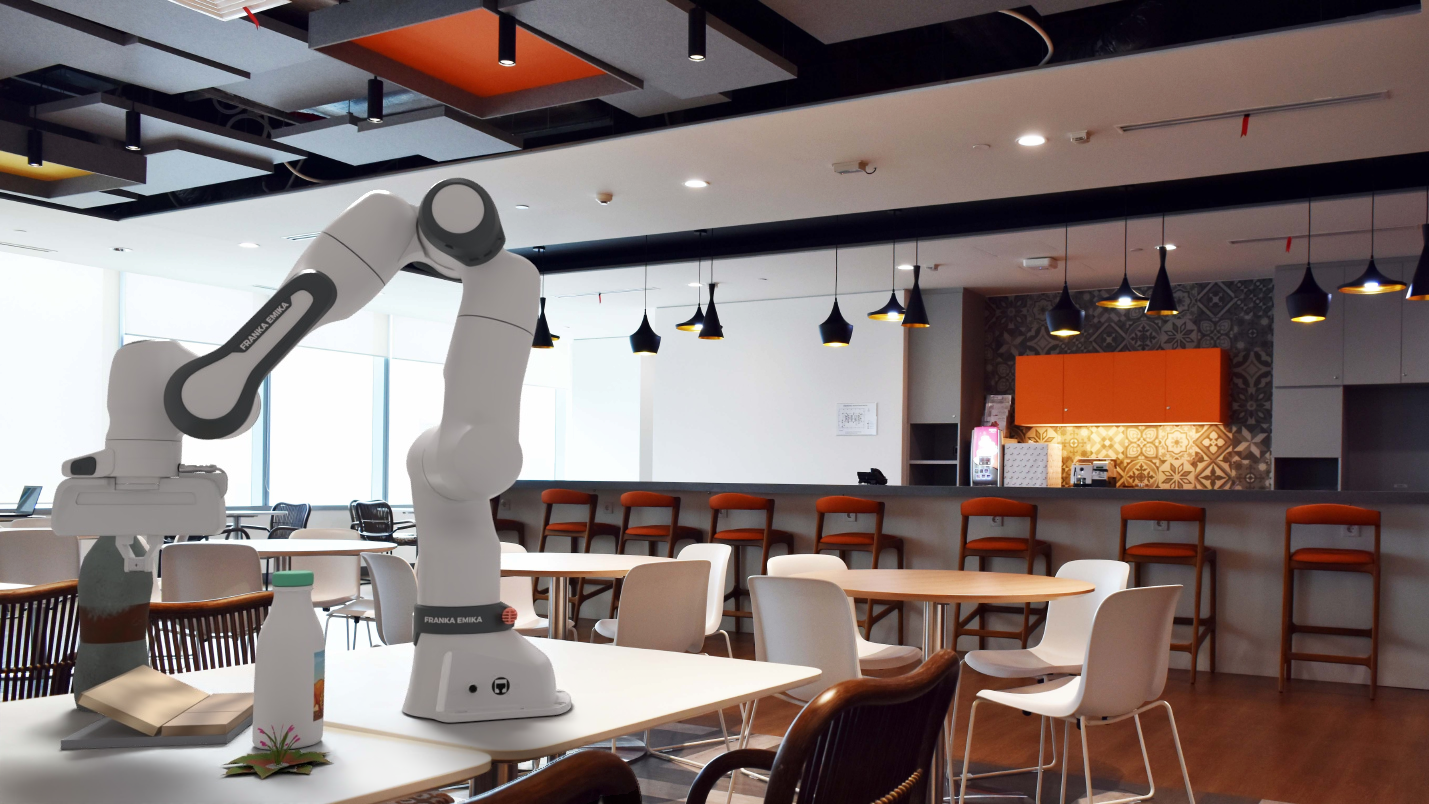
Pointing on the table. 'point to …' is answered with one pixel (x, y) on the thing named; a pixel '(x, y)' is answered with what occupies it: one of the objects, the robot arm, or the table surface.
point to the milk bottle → (290, 666)
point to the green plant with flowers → (276, 758)
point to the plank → (142, 699)
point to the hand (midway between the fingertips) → (138, 571)
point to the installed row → (212, 715)
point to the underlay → (139, 736)
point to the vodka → (110, 616)
